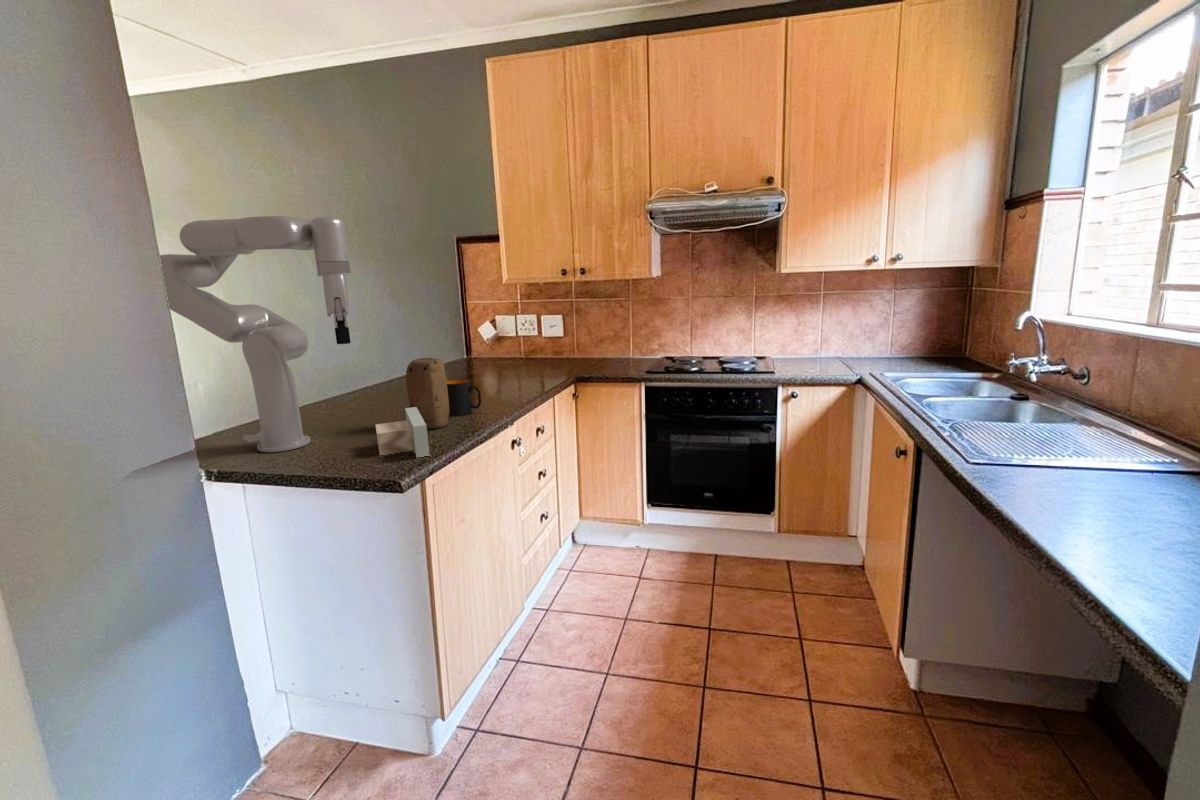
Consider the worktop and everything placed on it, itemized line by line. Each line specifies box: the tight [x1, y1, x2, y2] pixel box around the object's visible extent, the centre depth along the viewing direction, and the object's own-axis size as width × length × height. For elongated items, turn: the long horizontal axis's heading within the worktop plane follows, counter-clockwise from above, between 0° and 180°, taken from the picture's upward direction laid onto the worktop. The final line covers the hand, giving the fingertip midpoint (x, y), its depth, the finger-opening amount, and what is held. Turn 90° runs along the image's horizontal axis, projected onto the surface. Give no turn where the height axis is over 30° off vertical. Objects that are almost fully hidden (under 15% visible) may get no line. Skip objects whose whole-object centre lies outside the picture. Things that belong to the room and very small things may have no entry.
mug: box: [447, 378, 482, 417], centre depth 179 cm, size 8×12×10 cm
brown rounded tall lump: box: [405, 357, 450, 430], centre depth 164 cm, size 11×8×20 cm
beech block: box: [375, 420, 414, 457], centre depth 145 cm, size 8×10×6 cm
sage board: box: [404, 407, 431, 459], centre depth 146 cm, size 3×22×8 cm, turn 24°
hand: (343, 343), depth 143 cm, fingers closed
